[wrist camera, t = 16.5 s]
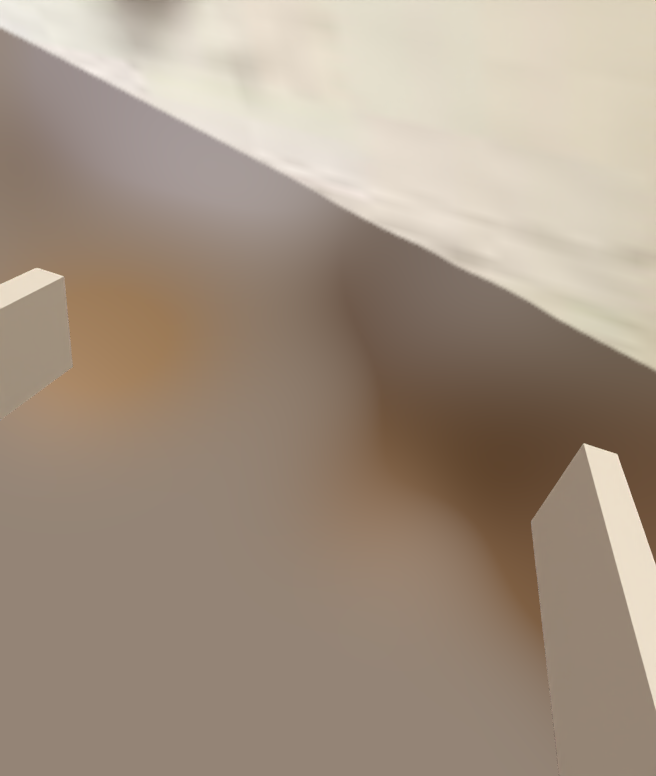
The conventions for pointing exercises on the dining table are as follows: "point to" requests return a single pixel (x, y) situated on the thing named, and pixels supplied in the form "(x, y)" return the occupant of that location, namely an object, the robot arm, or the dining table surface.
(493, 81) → the dining table surface
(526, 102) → the dining table surface
